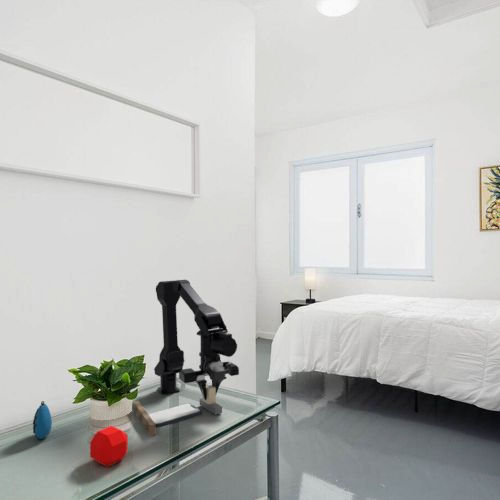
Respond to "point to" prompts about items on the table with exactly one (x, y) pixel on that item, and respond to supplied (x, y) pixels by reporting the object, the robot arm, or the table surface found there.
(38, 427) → the ornament
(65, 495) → the table surface
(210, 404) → the scraper
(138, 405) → the walnut bar
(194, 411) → the smartphone
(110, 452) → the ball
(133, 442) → the table surface
